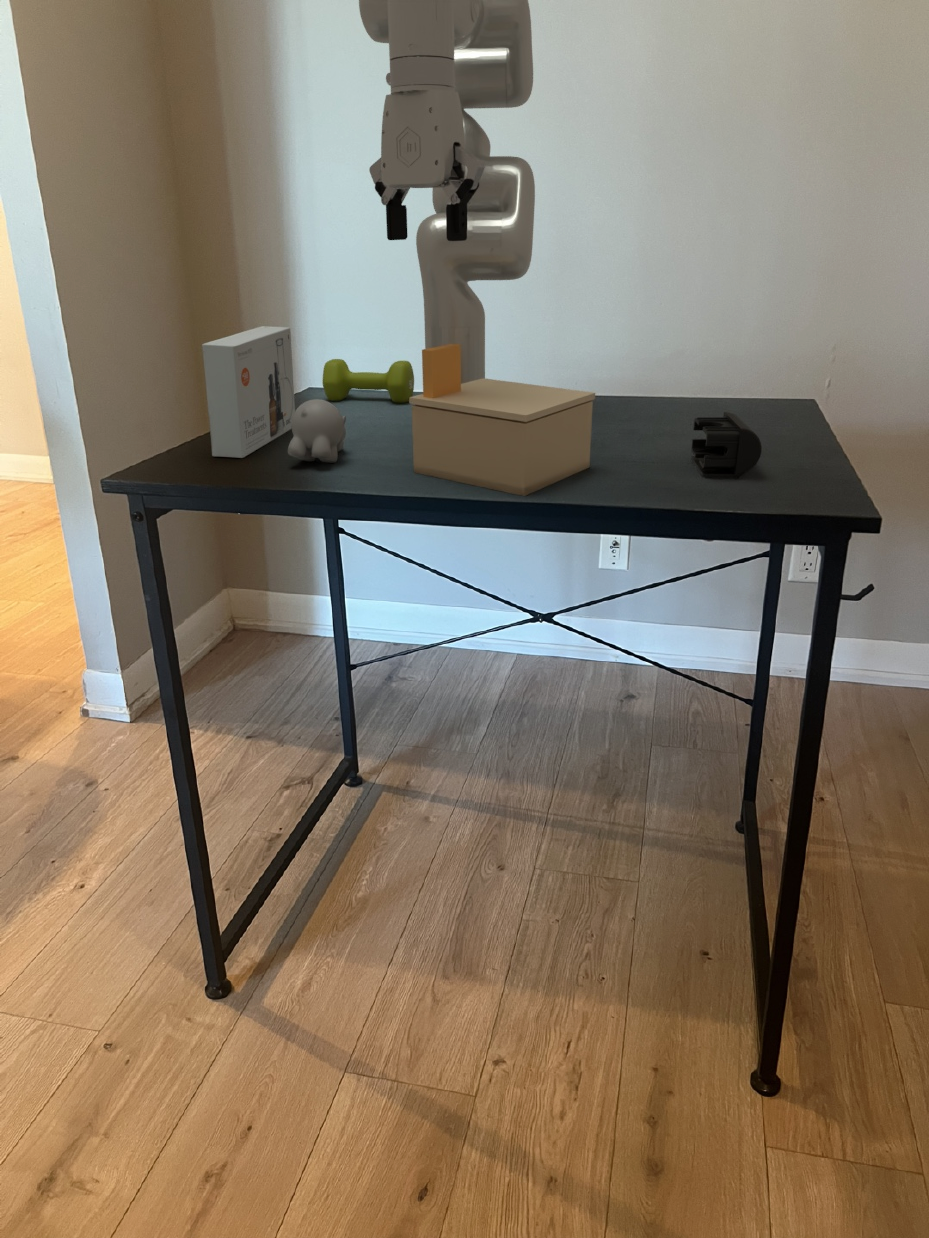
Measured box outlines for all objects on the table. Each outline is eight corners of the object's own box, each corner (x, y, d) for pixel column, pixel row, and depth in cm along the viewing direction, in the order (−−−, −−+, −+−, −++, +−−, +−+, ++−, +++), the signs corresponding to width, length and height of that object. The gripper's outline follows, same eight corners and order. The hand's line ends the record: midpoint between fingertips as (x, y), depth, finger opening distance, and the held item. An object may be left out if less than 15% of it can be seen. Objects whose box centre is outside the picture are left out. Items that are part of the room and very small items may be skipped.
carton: (483, 448, 131) (483, 386, 128) (589, 467, 121) (592, 401, 118) (413, 472, 120) (411, 405, 116) (524, 496, 110) (525, 424, 106)
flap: (483, 384, 128) (483, 335, 125) (595, 398, 118) (597, 346, 115) (409, 403, 116) (407, 350, 113) (526, 422, 106) (527, 363, 103)
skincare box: (246, 459, 127) (233, 345, 120) (211, 458, 128) (196, 344, 121) (300, 426, 146) (291, 325, 139) (269, 424, 147) (258, 324, 140)
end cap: (758, 480, 116) (765, 428, 113) (703, 479, 116) (708, 428, 113) (740, 459, 125) (746, 411, 122) (689, 459, 125) (694, 411, 122)
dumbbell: (320, 403, 162) (317, 363, 159) (335, 395, 169) (332, 356, 166) (406, 407, 159) (405, 365, 156) (418, 398, 166) (416, 358, 163)
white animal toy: (360, 470, 131) (367, 412, 130) (325, 460, 119) (332, 396, 119) (316, 466, 133) (323, 409, 132) (278, 455, 121) (284, 392, 121)
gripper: (346, 83, 105) (355, 240, 112) (460, 69, 95) (462, 242, 102) (389, 89, 110) (395, 238, 117) (501, 76, 100) (500, 240, 108)
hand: (426, 240), depth 110 cm, fingers open, 9 cm apart
